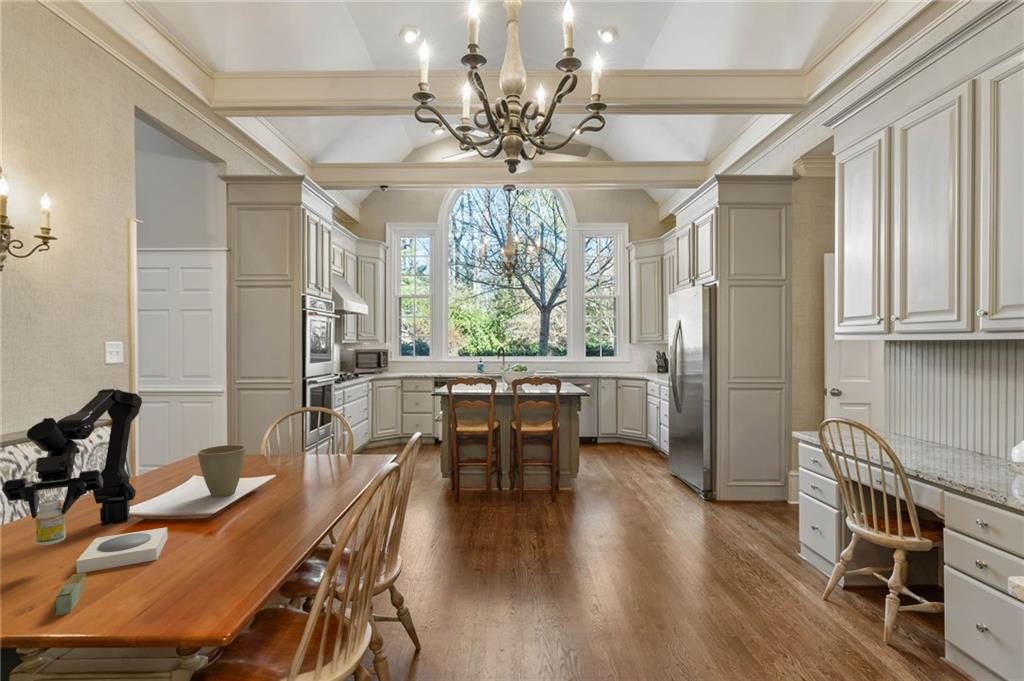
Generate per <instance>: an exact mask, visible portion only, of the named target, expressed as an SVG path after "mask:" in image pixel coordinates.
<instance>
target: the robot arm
mask: <svg viewBox="0 0 1024 681" xmlns="http://www.w3.org/2000/svg"><path fill="white" fill-rule="evenodd" d="M142 405H143V400H142V397H141V396H139V395H138V393H134V392H133V393H132V392H128V391H123V390H120V389H117V388H107V389H105V388H104V389H103V388H102V389H100V390H98V392H97V394H96V395H95V396H94V397H93V398H92V399H91V400H90V401H89V402H88V403H86V404H85V405H84V406H83V407H82V408H80V409H79V410H78V411H77V412H76V413H75V412H74V413H72V414H70V415H66V416H65V417H62V418H61V419H59V420H58V421H57V422H56V420H55V419H54V418H53V417H45V418H43V419H42V421H40V422H38V423H36V424H34V425H33V426H31V427H30V428H29V429H27V432H26V437H27V439H29V441H31V442H32V443H33V444H34V445H35V446H36V447H37V448H38V449H39V450H40V451H42V452H44V453H45V452H46V453H47V455H46V456H45V457H43V456H42V457H37V458H36V462H35V472H36V473H37V478H38V479H41V480H40V481H32V480H30V481H28V479H27V478H26V477H24V478H23V477H22V478H14V479H8V480H6V481H5V482H4V483H2V486H1V487H2V488H1V491H2V493H3V494H4V495H5V497H6V499H7V500H8V501H12V502H14V501H20V500H23V502H25V503H26V502H27V503H28V507H29V510H30V514H31V515H30V516H31V517H32V518H31V519H33V520H34V519H36V515H37V514H38V509H39V504H40V500H41V498H40V496H39V495H38V491H46V490H54V489H62V488H67V490H66V491H67V492H66V494H65V498H64V500H63V505H62V514H65V515H66V514H67V512H68V511H69V510H70V509H71V507H72V506H73V505H74V503H75V502H77V500H79V498H80V497H82V496H83V495H86V494H87V493H88V492H92V493H93V494H92V495H93V496H94V497H93V498H94V500H95V504H97V505H98V504H101V508H100V509H99V516H100V518H99V519H100V522H101V523H100V525H101V526H107V525H112V524H113V525H114V524H120V523H121V524H122V523H125V522H128V521H129V520H130V518H131V517H132V516H131V515H129V511H130V512H131V510H130V501H133V500H134V499H135V497H136V492H137V491H136V489H135V488H134V487H133V486H132V484H131V483H130V475H129V474H128V472H127V470H126V469H125V464H126V460H127V453H128V446H129V440H130V439H129V438H130V433H131V427H132V422H133V420H135V419H136V417H137V416H138V415H139V414H140V410H141V407H142ZM106 412H107V414H108V416H109V418H110V419H111V427H110V433H109V440H108V445H107V452H106V456H105V457H106V458H105V463H104V468H103V469H102V470H101V471H100V470H99V469H91V470H84V471H83V470H82V471H80V472H79V474H78V475H79V477H72V475H73V472H74V470H75V468H74V465H75V460H76V459H75V458H76V454H80V453H81V450H80V448H79V446H78V444H77V442H76V441H81V440H82V441H83V440H87V439H88V438H89V437H90V436H91V435H92V433H93V432H94V431H95V424H96V422H97V421H98V420H99V419H100V418H101V417H102V416H103V415H104V414H105V413H106Z"/></svg>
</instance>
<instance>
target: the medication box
mask: <svg viewBox="0 0 1024 681" xmlns="http://www.w3.org/2000/svg"><path fill="white" fill-rule="evenodd" d="M86 585H87V572H83V573H75V574H71V576H70V577H69V579H67V581H66V583H64V585H63V587H62V588H61V590H60V591H59V592H58V593H57V595H56V596H55V603H54V604H55V605H54V616H55V617H56V616H64V615H66V614H71V613H72V612H73V609H74V607H75V606H76V605H77V603H78V601H79V600H80V598H81V597H82V596H83V594H84V591H86Z"/></svg>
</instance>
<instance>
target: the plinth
mask: <svg viewBox="0 0 1024 681" xmlns="http://www.w3.org/2000/svg"><path fill="white" fill-rule="evenodd" d="M168 539H169V538H168V527H167V526H166V527H161V528H154V529H147V530H140V531H134V532H128V533H120V534H115V535H114V534H113V535H108V536H102V537H101V536H100V537H96V538H94V540H93V541H92V542H91V543H90V544H89V546H88V547H87V548H86V549H85V550H84V551H83V553H81V555H80V556H79V557H78V559H77V560H76V562H75V563H76V574H81V573H89V572H95V571H100V570H106V569H112V568H117V567H118V568H119V567H123V566H129V565H134V564H140V563H147V562H150V561H157V560H158V558H159V556H160V554H161V553H162V550H163V548H164V546H165V544H166V543H167V540H168Z"/></svg>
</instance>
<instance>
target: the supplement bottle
mask: <svg viewBox="0 0 1024 681" xmlns="http://www.w3.org/2000/svg"><path fill="white" fill-rule="evenodd" d="M61 505H62V503H61V500H59V499H53V500H46V501H44V502H43V501H42V502H41V503H40V502H39V505H38V509H39V512H37V515H36V517H35V528H36V529H35V530H36V532H35V533H36V544H38V545H39V546H48V545H53V544H56V543H59V542H63V541H64V540H65V539H66V537H67V536H66V516H65V515H66V513H65V514H62V508H61Z"/></svg>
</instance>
